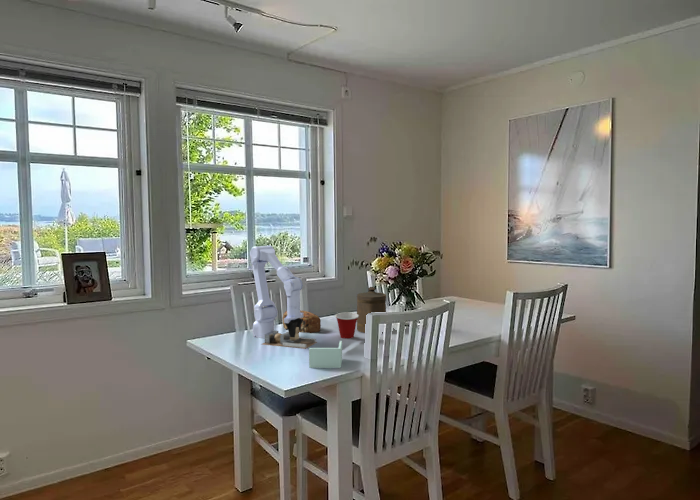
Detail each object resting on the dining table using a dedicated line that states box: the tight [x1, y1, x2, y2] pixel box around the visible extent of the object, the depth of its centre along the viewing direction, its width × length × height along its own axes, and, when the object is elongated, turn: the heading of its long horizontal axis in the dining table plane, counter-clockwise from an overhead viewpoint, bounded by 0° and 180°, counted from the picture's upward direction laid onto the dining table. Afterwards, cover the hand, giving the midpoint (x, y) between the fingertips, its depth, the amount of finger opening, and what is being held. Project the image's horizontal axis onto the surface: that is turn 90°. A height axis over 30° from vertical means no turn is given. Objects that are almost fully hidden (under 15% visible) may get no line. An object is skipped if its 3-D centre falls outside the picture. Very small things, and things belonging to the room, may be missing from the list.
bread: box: [282, 310, 322, 334], centre depth 251 cm, size 19×11×10 cm, turn 45°
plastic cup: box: [335, 311, 358, 339], centre depth 230 cm, size 11×11×12 cm
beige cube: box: [280, 327, 302, 344], centre depth 219 cm, size 7×7×7 cm
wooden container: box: [356, 286, 387, 334], centre depth 249 cm, size 15×15×22 cm
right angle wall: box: [308, 340, 343, 369], centre depth 195 cm, size 12×12×8 cm
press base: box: [261, 330, 318, 350], centre depth 220 cm, size 22×12×6 cm, turn 68°
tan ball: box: [274, 332, 283, 343], centre depth 222 cm, size 4×4×4 cm
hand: (294, 336), depth 219 cm, fingers closed on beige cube, 3 cm apart
